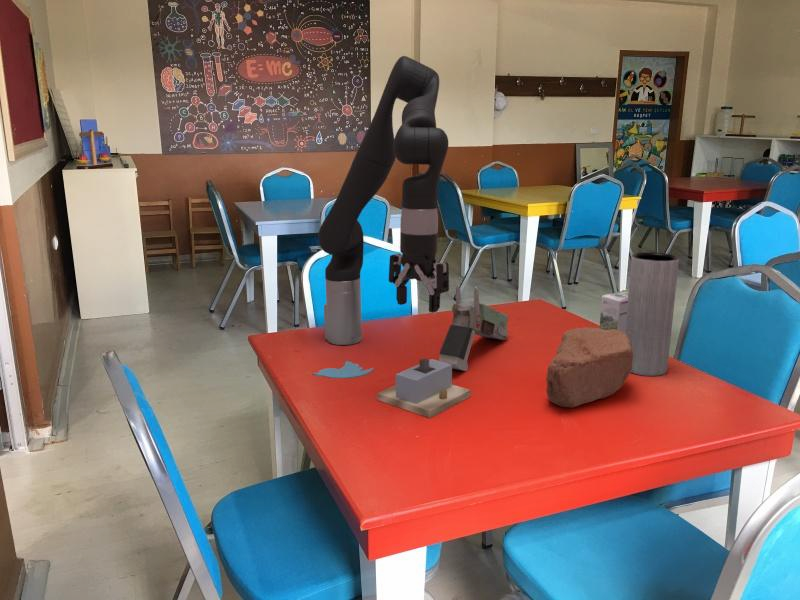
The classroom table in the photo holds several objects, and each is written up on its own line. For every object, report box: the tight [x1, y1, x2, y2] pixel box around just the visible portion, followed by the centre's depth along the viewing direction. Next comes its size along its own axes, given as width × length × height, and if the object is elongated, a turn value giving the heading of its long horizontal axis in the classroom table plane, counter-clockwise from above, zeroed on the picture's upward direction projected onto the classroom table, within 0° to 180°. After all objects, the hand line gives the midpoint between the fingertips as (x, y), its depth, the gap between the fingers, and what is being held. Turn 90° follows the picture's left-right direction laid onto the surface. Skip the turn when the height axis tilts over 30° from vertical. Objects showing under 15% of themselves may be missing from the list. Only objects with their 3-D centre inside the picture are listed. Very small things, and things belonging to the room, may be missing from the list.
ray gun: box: [438, 284, 509, 372], centre depth 164 cm, size 7×32×20 cm, turn 153°
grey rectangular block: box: [395, 358, 453, 404], centre depth 137 cm, size 12×6×5 cm, turn 139°
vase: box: [625, 251, 680, 377], centre depth 151 cm, size 10×10×27 cm
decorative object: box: [312, 360, 374, 380], centre depth 153 cm, size 12×1×10 cm
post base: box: [376, 358, 472, 419], centre depth 137 cm, size 14×14×8 cm
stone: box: [545, 326, 633, 409], centre depth 138 cm, size 16×26×15 cm, turn 145°
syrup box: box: [599, 292, 628, 333], centre depth 165 cm, size 6×6×14 cm
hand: (417, 307), depth 136 cm, fingers open, 8 cm apart
